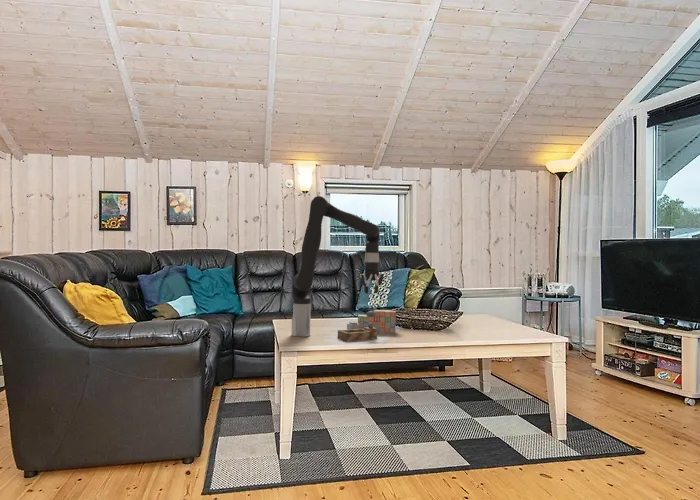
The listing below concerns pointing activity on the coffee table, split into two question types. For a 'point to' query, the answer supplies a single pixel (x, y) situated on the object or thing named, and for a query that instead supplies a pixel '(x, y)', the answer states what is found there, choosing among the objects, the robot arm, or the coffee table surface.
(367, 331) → the chassis
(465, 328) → the coffee table surface
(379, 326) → the stack of blocks
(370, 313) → the wheel
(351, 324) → the block
